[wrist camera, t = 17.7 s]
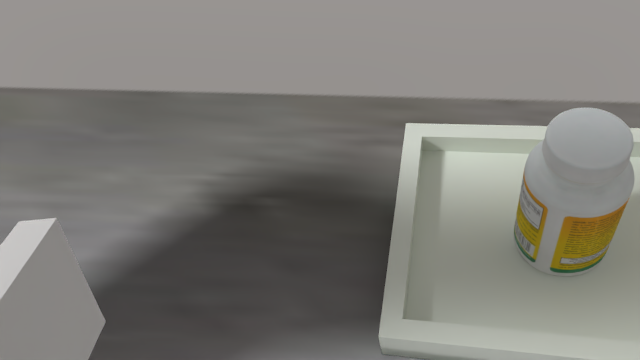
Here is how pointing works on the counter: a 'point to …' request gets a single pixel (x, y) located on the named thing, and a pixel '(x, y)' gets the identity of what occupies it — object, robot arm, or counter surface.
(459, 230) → the tray
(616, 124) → the supplement bottle
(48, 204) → the counter surface
